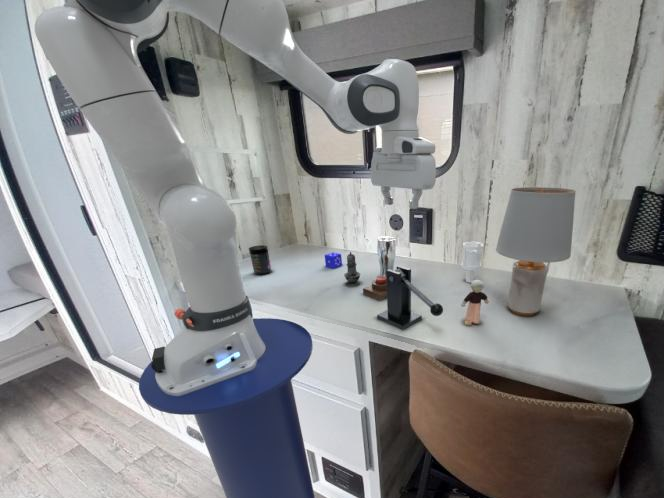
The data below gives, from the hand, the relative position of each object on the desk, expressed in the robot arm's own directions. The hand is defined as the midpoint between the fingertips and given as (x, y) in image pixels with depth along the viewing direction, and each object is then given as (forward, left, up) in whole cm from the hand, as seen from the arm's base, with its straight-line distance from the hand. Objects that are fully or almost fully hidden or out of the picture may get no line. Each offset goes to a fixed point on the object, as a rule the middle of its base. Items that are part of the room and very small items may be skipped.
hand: (400, 206), depth 78 cm
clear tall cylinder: (+35, -2, -31) cm, 47 cm away
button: (+6, +15, -27) cm, 31 cm away
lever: (-4, -8, -22) cm, 24 cm away
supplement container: (-11, +66, -31) cm, 73 cm away
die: (+13, +51, -31) cm, 61 cm away
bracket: (-4, -2, -30) cm, 31 cm away
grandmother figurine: (+8, -19, -31) cm, 37 cm away
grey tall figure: (+5, +29, -31) cm, 42 cm away
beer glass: (+18, +24, -31) cm, 43 cm away
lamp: (+24, -26, -31) cm, 47 cm away
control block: (+6, +15, -30) cm, 34 cm away
